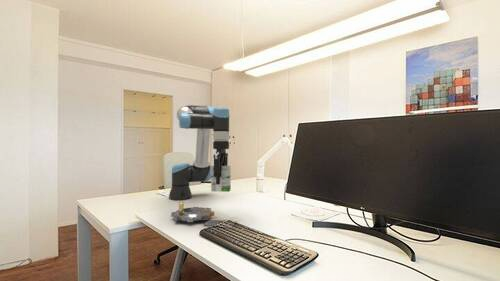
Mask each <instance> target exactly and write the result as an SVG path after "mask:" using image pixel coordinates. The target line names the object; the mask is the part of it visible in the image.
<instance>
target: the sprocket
mask: <svg viewBox="0 0 500 281" xmlns="http://www.w3.org/2000/svg"><path fill="white" fill-rule="evenodd" d="M215 215H216V214H215V210H212V208H211V207H200V206H192V207H185V202H184V201H179V203H178V210H176V211H172V212H171V213H170V217H172V219H173V221H175V222H178V221H180V222H186V223H194V222H200V221H207V220H208V221H209V220H210V218H211V217H215Z"/></svg>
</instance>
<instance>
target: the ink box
mask: <svg viewBox="0 0 500 281" xmlns="http://www.w3.org/2000/svg"><path fill="white" fill-rule="evenodd" d="M231 171H232V170H231V165H228V166H222V170H221V177H222V191H221V193H222V192H228V193H229V192H230V191H231V189H232V188H231V186H232V185H231V181H232V180H231V178H232V177H231V176H232V175H231ZM210 192H214V193H215V192H218V191H216V177H214V165H211V178H210ZM218 193H219V192H218Z"/></svg>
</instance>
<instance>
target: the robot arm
mask: <svg viewBox="0 0 500 281" xmlns="http://www.w3.org/2000/svg"><path fill="white" fill-rule="evenodd" d="M230 116H231V115H230V110H229V108H227V107H213V106H209V105H193V104H191V105H190V104H188V105H185V106H181V107H180V108H179V109H178V110H177V113H176V118H177V120H178V126H179V129H185V130H187V129H195V130H196V143H195V144H196V145H195V160H194V161H193V162H192V164H191V165H190V163H187V162H186V163H179V164H175V165H173V166H172V167H171V189H170V191H169V194H168V199H169V200H171V201H185V200H190V199H192V195H193V194H192V191H191V188H190V183H200V182H202V183H203V182H209V181H211V166H212V165H211V164H210V162H209V153H210V152H209V151H210V139H211V138H210V137H211V130H212V136H213V138H212V140H214V141H212V149H213V150H216V151H215V154H213V155H212V156H213V157H212V158H213V166H214V177H216V191H218V193H220V192H221V191H222V177H221V170H222V166H229V164H228V161H229V160H228V158H229V153H227V150H229V149H230V142H229V140H230ZM221 193H222V192H221Z"/></svg>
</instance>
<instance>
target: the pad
mask: <svg viewBox="0 0 500 281" xmlns="http://www.w3.org/2000/svg"><path fill="white" fill-rule="evenodd" d="M228 220H229V219H218V218H217V219H216V218H211V219H210V218H209V219H208V221H207V222H205V223H204V224H203V226H204V227H210V226H215V225H217V224H220V223H223V222H225V221H228ZM233 221H234V222H236V223H237V220H233Z"/></svg>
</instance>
